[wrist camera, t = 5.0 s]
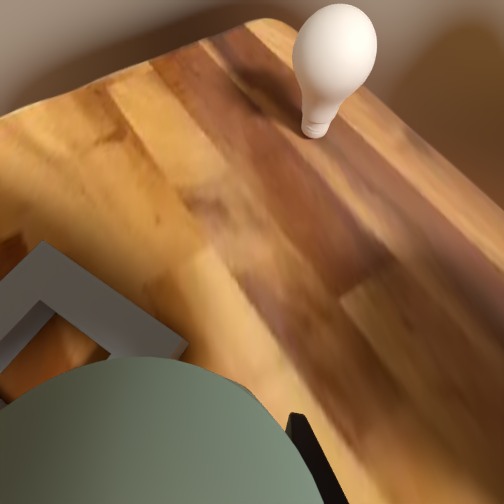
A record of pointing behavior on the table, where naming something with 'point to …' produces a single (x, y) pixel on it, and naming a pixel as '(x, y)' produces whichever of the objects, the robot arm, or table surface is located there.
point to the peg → (147, 440)
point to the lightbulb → (331, 62)
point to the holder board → (76, 310)
